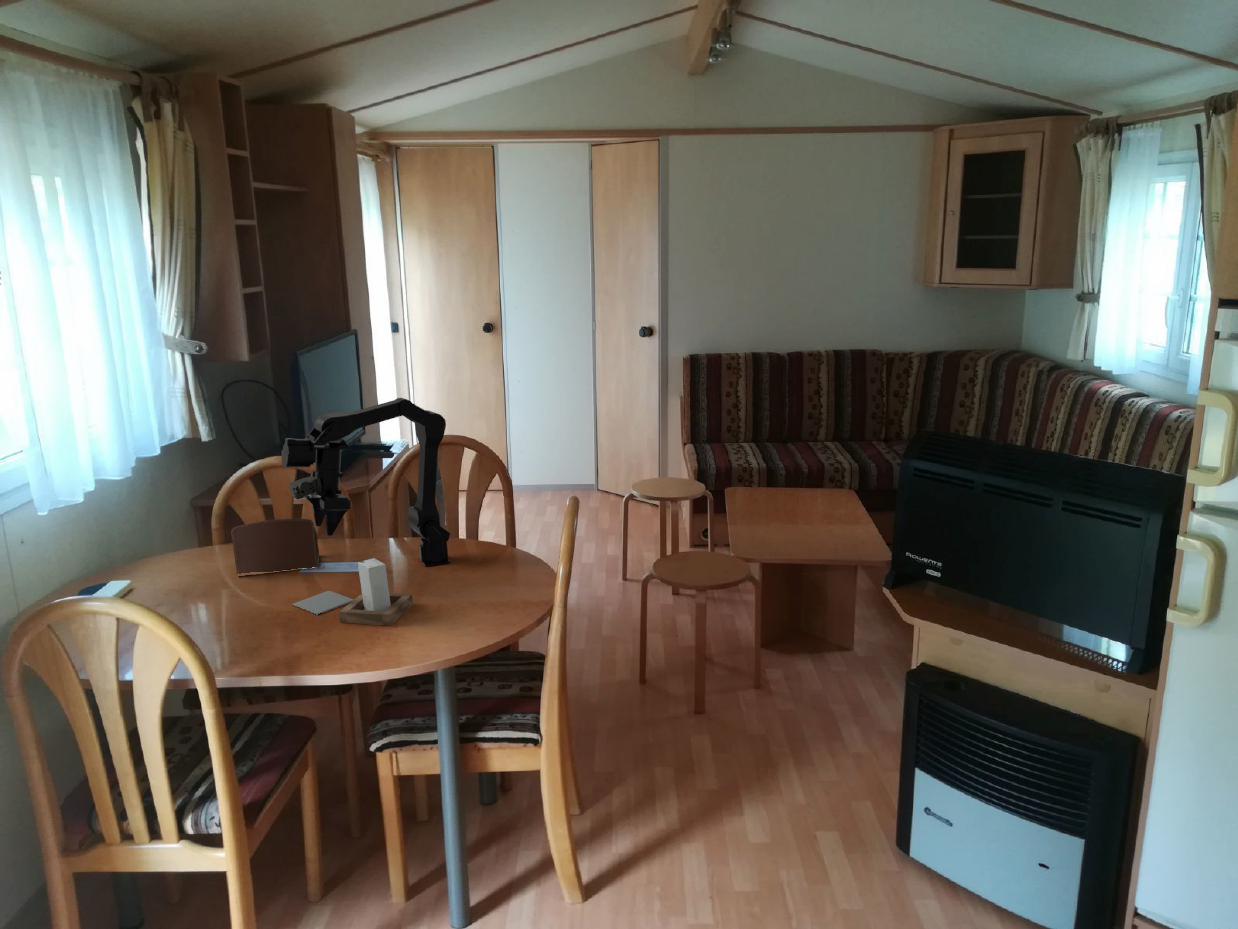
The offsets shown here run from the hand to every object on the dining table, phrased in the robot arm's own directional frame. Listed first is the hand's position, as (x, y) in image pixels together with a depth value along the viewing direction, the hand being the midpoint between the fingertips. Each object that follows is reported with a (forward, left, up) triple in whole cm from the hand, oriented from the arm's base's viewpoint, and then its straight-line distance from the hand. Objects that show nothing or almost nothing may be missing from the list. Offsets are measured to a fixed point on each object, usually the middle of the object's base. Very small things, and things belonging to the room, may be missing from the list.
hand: (323, 530), depth 220 cm
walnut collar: (-8, +23, -14) cm, 28 cm away
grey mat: (+2, +11, -14) cm, 18 cm away
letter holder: (+11, -21, -15) cm, 28 cm away
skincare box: (-8, +23, -14) cm, 28 cm away
